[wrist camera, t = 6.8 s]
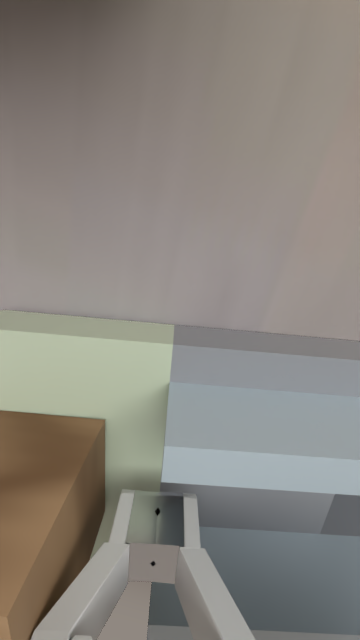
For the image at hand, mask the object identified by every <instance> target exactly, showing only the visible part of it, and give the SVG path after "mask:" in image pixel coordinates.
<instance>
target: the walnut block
mask: <svg viewBox="0 0 360 640" xmlns="http://www.w3.org/2000/svg"><path fill="white" fill-rule="evenodd" d="M104 513H105V420H102V419H90V418H79V417H68V416H57V415H46V414H35V413H24V412H13V411H2V410H0V640H31V638H32V635H33V633H34V630H35V629H36V628H37V626H38V625H39V624H40V623H41V621H42V620H43V619H44V618H45V616H46V615H47V614H48V612H49V611H50V610H51V609H52V607H53V606H54V605H55V604H56V602H57V601H58V600H59V599H60V597H61V596H62V595H63V593H64V592H65V591H66V590H67V588H68V587H69V586H70V585H71V583H72V582H73V581H74V580H75V578H76V577H77V576H78V575H79V573H80V572H81V571H82V569H83V568H84V567H85V566H86V564H87V563H88V562H89V560H90V557H91V554H92V551H93V547H94V544H95V541H96V538H97V535H98V532H99V528H100V525H101V522H102V519H103V516H104Z"/></svg>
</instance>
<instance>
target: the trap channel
mask: <svg viewBox="0 0 360 640" xmlns="http://www.w3.org/2000/svg"><path fill="white" fill-rule="evenodd" d="M0 410H2V411H13V412H24V413H35V414H46V415H57V416H68V417H79V418H90V419H102V420H105V513H104V516H103V519H102V522H101V525H100V528H99V532H98V535H97V538H96V541H95V544H94V547H93V551H92V554H91V557H90V558H92V557H93V556H94V554H95V553H96V552H97V550H98V549H99V548H100V547H101V545H102V544H103V543H104V542H108V541H109V537H110V533H111V529H112V525H113V521H114V517H115V513H116V509H117V506H118V502H119V498H120V494H121V492H122V489H128V490H139V491H151V492H176V493H184V494H196V496H197V505H198V518H199V531H200V544H201V548H205V549H206V551H207V553H208V555H209V557H210V558H211V560H212V562H213V564H214V566H215V567H216V569H217V571H218V573H219V575H220V577H221V578H222V580H223V582H224V584H225V586H226V587H227V589H228V591H229V593H230V595H231V596H232V598H233V600H234V602H235V604H236V605H237V607H238V609H239V611H240V613H241V614H242V616H243V618H244V620H245V622H246V624H247V625H248V627H249V629H250V631H251V633H252V634H253V636H254V638H255V640H360V341H352V340H341V339H329V338H318V337H307V336H295V335H284V334H272V333H261V332H250V331H238V330H227V329H216V328H204V327H193V326H182V325H170V324H159V323H148V322H136V321H125V320H113V319H102V318H91V317H79V316H68V315H57V314H45V313H34V312H23V311H11V310H2V311H0ZM147 640H194V639H193V637H192V634H191V631H190V628H189V625H188V622H187V620H186V617H185V614H184V611H183V608H182V605H181V603H180V600H179V597H178V594H177V591H176V589H175V584H170V583H159V582H152V585H151V596H150V608H149V621H148V632H147Z"/></svg>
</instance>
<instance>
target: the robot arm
mask: <svg viewBox="0 0 360 640" xmlns="http://www.w3.org/2000/svg"><path fill="white" fill-rule="evenodd" d="M128 581H139V582H140V581H141V582H159V583H170V584H175V589H176V591H177V594H178V597H179V600H180V603H181V605H182V608H183V611H184V614H185V617H186V620H187V622H188V625H189V628H190V631H191V634H192V637H193V639H194V640H255V638H254V636H253V634H252V633H251V631H250V629H249V627H248V625H247V624H246V622H245V620H244V618H243V616H242V614H241V613H240V611H239V609H238V607H237V605H236V604H235V602H234V600H233V598H232V596H231V595H230V593H229V591H228V589H227V587H226V586H225V584H224V582H223V580H222V578H221V577H220V575H219V573H218V571H217V569H216V567H215V566H214V564H213V562H212V560H211V558H210V557H209V555H208V553H207V551H206V549H205V548H201V544H200V531H199V518H198V505H197V496H196V494H184V493H176V492H151V491H139V490H128V489H122V492H121V494H120V498H119V502H118V506H117V509H116V513H115V517H114V521H113V525H112V529H111V533H110V537H109V541H108V542H104V543H103V544H102V545H101V547H100V548H99V549H98V550H97V552H96V553H95V554H94V556H93V557H92V558H91V559H90V561H89V562H88V563H87V564H86V566H85V567H84V568H83V569H82V571H81V572H80V573H79V575H78V576H77V577H76V578H75V580H74V581H73V582H72V583H71V585H70V586H69V587H68V588H67V590H66V591H65V592H64V593H63V595H62V596H61V597H60V599H59V600H58V601H57V602H56V604H55V605H54V606H53V607H52V609H51V610H50V611H49V612H48V614H47V615H46V616H45V618H44V619H43V620H42V621H41V623H40V624H39V625H38V626H37V628H36V629H35V630H34V633H33V635H32V638H31V640H97V638H98V636H99V635H100V633H101V631H102V629H103V627H104V626H105V624H106V622H107V620H108V618H109V617H110V615H111V613H112V611H113V609H114V608H115V606H116V604H117V602H118V600H119V598H120V597H121V595H122V593H123V591H124V590H125V588H126V586H127V584H128Z"/></svg>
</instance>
